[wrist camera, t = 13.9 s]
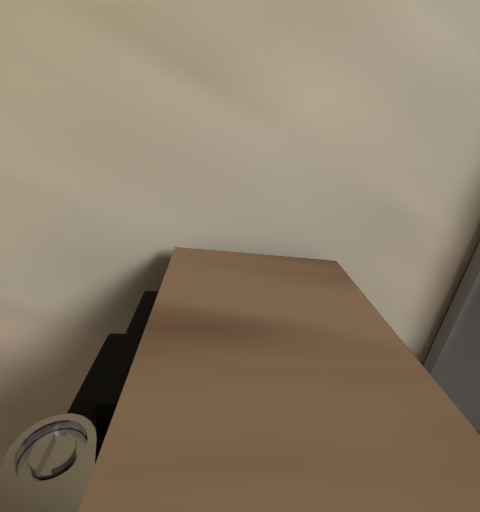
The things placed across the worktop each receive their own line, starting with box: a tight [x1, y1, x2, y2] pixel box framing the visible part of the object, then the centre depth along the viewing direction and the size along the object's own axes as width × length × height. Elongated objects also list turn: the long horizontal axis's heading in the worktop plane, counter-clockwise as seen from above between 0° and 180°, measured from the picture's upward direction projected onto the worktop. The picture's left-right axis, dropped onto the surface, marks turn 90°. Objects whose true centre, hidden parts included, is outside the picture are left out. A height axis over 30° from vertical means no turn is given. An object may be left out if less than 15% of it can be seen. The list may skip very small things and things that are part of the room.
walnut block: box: [78, 247, 480, 512], centre depth 7 cm, size 5×5×7 cm
